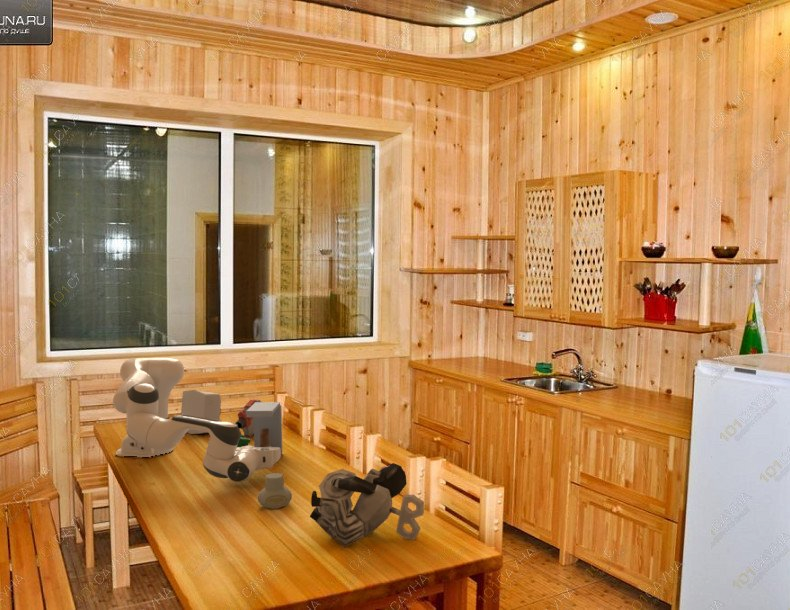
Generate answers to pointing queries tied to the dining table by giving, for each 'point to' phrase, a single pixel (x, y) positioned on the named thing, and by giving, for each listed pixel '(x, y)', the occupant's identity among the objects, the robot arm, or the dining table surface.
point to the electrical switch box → (201, 406)
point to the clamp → (243, 441)
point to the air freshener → (274, 492)
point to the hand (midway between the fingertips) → (256, 448)
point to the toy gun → (246, 419)
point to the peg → (264, 437)
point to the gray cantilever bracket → (267, 422)
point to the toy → (363, 504)
